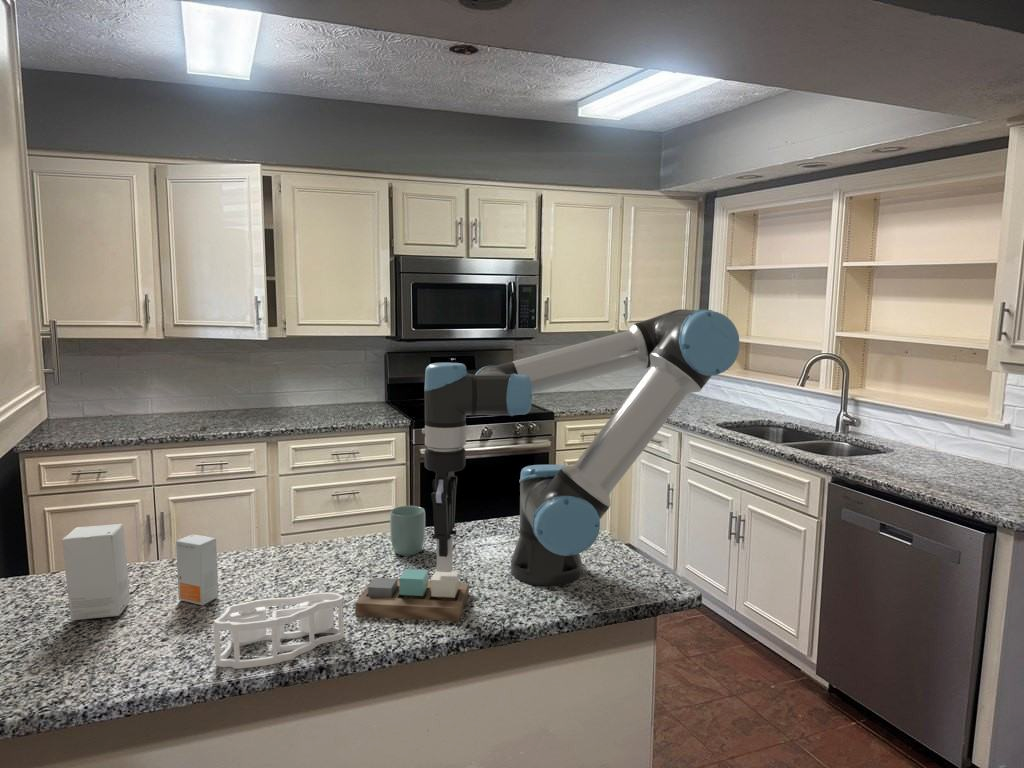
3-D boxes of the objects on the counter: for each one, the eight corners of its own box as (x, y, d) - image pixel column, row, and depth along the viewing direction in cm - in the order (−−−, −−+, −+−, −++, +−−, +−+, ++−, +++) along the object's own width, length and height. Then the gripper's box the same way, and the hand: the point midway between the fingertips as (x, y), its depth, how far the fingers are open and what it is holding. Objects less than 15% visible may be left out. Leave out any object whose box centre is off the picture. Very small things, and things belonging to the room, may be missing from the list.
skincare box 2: (177, 601, 128) (174, 540, 126) (195, 592, 132) (192, 533, 130) (202, 606, 126) (199, 545, 124) (219, 597, 130) (217, 537, 128)
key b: (427, 586, 129) (427, 570, 128) (422, 595, 124) (422, 579, 124) (405, 584, 129) (405, 568, 129) (399, 594, 125) (399, 578, 124)
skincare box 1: (131, 602, 127) (126, 522, 125) (118, 618, 121) (113, 534, 119) (82, 605, 125) (76, 525, 123) (66, 622, 119) (60, 537, 117)
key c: (397, 594, 129) (397, 578, 129) (391, 604, 125) (391, 588, 125) (375, 593, 130) (374, 577, 129) (368, 603, 125) (368, 587, 125)
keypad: (468, 595, 132) (468, 583, 131) (459, 621, 121) (459, 608, 120) (373, 590, 133) (373, 578, 133) (355, 616, 122) (355, 603, 122)
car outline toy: (342, 623, 120) (341, 584, 119) (346, 654, 110) (345, 611, 109) (221, 638, 114) (219, 597, 113) (213, 673, 104) (211, 628, 103)
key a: (458, 587, 128) (458, 571, 128) (454, 597, 124) (454, 581, 123) (436, 586, 128) (436, 570, 128) (431, 596, 124) (431, 579, 124)
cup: (418, 560, 149) (418, 517, 148) (385, 557, 150) (385, 514, 149) (429, 548, 156) (429, 506, 155) (398, 545, 158) (397, 504, 157)
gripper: (432, 439, 129) (432, 556, 132) (416, 454, 117) (416, 583, 119) (470, 440, 129) (469, 558, 132) (459, 456, 116) (458, 586, 119)
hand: (444, 570), depth 125 cm, fingers closed
